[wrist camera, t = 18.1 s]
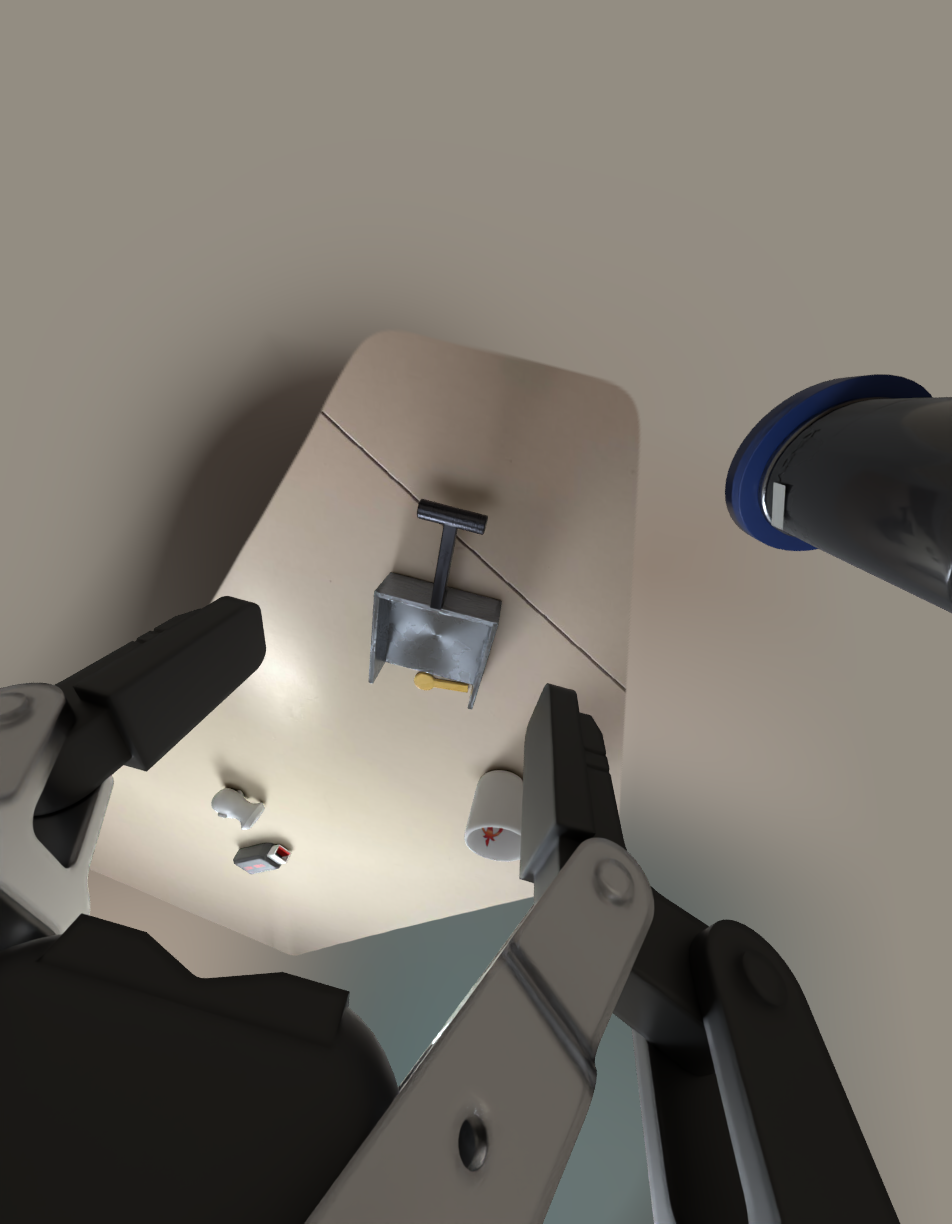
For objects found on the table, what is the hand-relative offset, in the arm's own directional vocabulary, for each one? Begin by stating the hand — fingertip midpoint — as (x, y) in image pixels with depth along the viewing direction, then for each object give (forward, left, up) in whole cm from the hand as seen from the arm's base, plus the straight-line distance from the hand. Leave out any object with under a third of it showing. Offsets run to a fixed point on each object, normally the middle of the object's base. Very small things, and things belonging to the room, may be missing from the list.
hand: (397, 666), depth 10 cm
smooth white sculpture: (+29, +59, -22) cm, 69 cm away
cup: (-12, +37, -22) cm, 44 cm away
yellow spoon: (0, +21, -22) cm, 30 cm away
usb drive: (+27, +78, -22) cm, 85 cm away
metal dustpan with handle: (+2, +10, -22) cm, 24 cm away
